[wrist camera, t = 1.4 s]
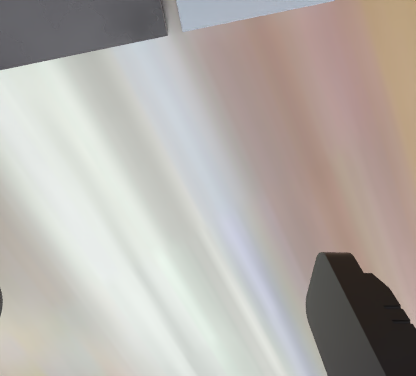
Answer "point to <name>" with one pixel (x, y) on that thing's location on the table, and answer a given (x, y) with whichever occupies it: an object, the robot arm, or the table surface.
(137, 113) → the table surface
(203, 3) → the stand
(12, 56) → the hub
